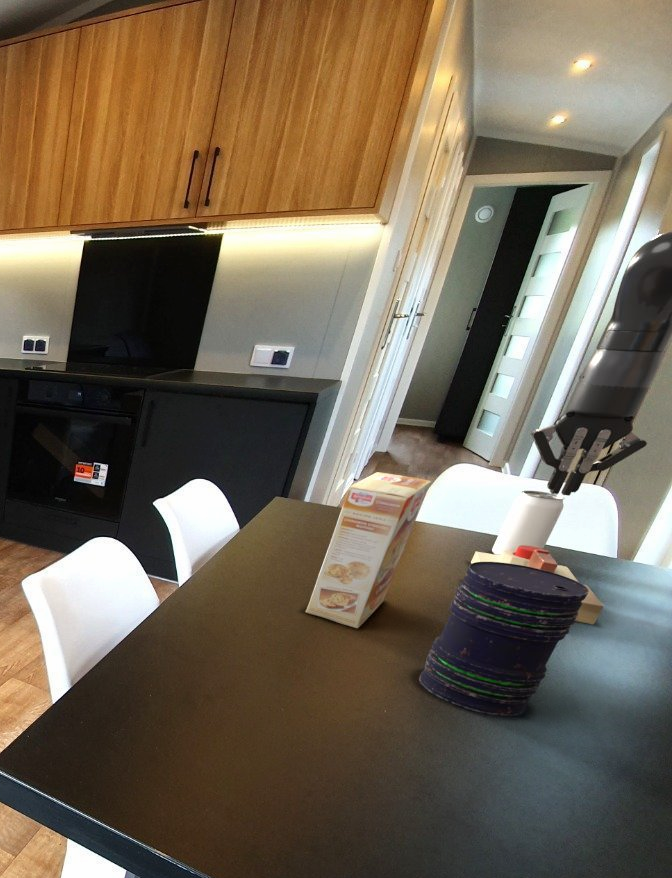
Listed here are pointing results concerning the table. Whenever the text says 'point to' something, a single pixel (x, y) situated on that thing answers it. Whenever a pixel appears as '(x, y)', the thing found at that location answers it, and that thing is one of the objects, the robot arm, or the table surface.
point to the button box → (516, 561)
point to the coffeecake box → (366, 547)
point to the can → (529, 521)
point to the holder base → (589, 608)
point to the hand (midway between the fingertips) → (559, 493)
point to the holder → (542, 561)
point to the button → (525, 551)
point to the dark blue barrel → (501, 636)
